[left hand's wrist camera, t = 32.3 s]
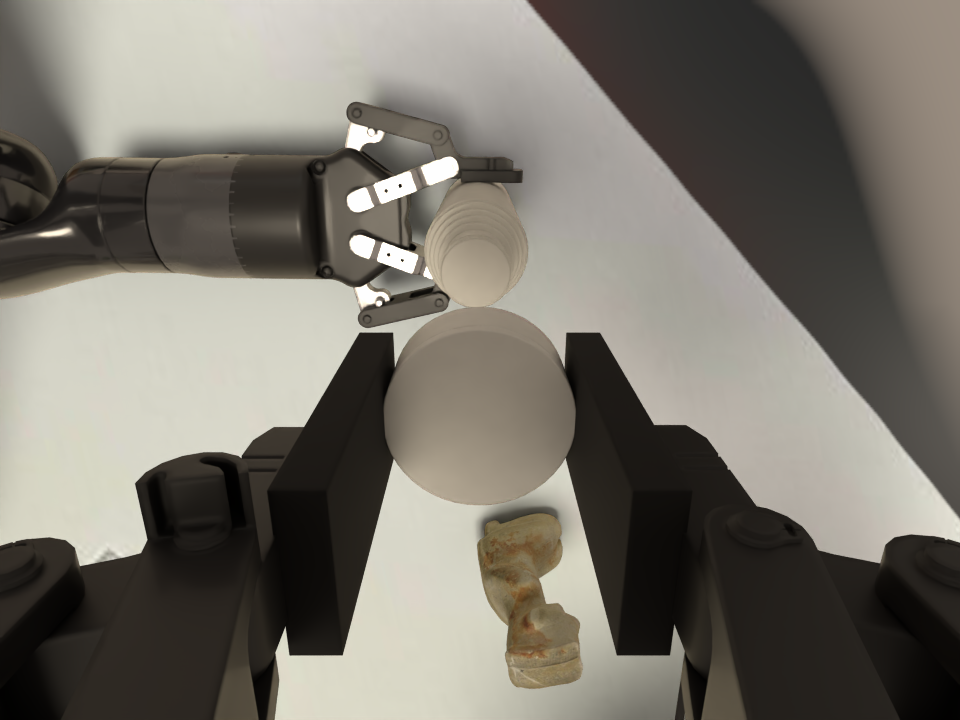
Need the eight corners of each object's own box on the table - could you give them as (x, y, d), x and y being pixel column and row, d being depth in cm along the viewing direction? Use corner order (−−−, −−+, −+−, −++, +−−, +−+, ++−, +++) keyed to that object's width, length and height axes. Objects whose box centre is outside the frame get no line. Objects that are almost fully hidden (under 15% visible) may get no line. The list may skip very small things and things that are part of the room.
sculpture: (561, 556, 55) (589, 702, 41) (481, 562, 56) (481, 710, 41) (558, 500, 53) (587, 634, 39) (475, 507, 53) (473, 642, 39)
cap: (357, 388, 14) (341, 421, 13) (480, 268, 13) (481, 288, 12) (478, 494, 15) (478, 537, 14) (601, 390, 14) (617, 423, 13)
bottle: (525, 205, 45) (562, 268, 25) (480, 256, 46) (481, 355, 26) (473, 158, 44) (468, 184, 24) (429, 212, 45) (389, 280, 25)
